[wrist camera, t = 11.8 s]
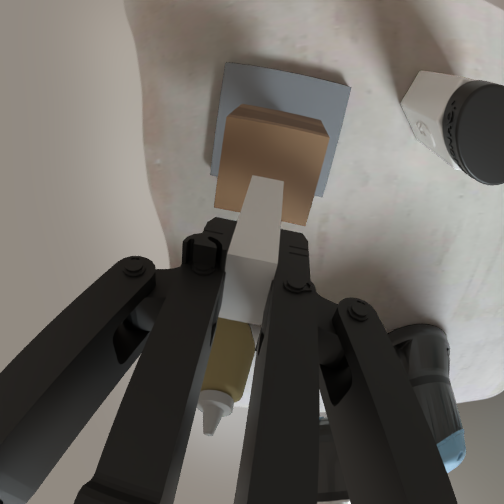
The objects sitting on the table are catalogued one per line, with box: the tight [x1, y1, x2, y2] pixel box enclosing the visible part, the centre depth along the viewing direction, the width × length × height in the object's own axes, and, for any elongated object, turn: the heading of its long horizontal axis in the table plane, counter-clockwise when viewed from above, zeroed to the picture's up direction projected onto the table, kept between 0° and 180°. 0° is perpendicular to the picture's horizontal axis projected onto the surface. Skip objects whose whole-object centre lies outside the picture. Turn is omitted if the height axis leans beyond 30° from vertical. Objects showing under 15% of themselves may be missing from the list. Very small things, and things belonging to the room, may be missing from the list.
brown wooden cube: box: [214, 104, 330, 226], centre depth 21 cm, size 6×6×6 cm
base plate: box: [210, 62, 351, 197], centre depth 30 cm, size 12×12×2 cm
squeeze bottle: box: [197, 317, 255, 436], centre depth 40 cm, size 8×8×18 cm
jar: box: [400, 70, 504, 185], centre depth 22 cm, size 9×8×12 cm
